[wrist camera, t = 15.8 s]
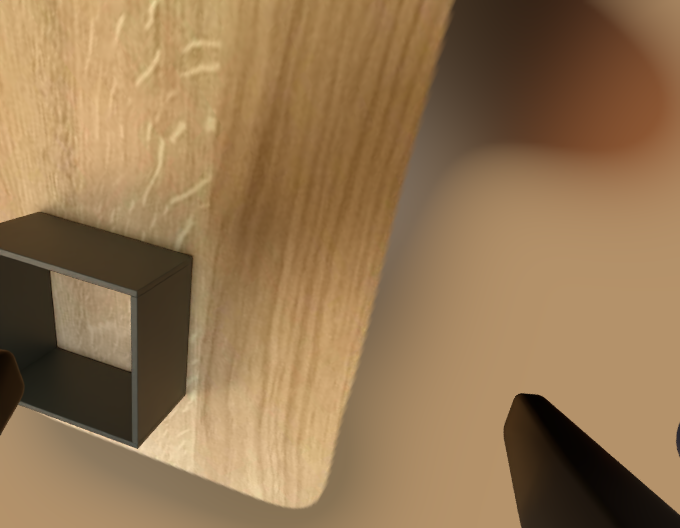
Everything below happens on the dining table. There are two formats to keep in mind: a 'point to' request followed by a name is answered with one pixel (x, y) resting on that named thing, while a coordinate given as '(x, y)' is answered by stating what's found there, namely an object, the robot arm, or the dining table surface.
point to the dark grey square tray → (79, 372)
